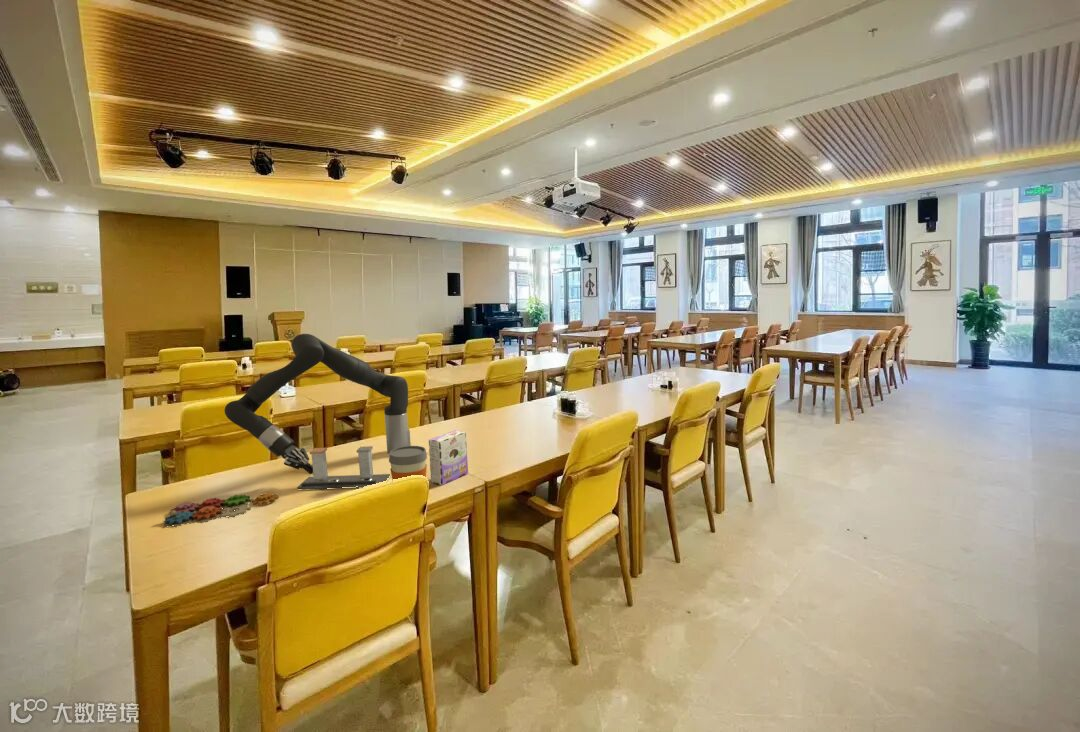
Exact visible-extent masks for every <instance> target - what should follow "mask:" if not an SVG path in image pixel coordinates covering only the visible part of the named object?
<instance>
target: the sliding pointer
mask: <svg viewBox="0 0 1080 732" xmlns="http://www.w3.org/2000/svg"><path fill="white" fill-rule="evenodd" d="M327 450H328V447H314V448H312V450H310V451H309V455H311V463H312V464H311V465H312V466H313V474H312V477H314V481H315V480H319V481H322V480H325V479H326V478H327V477H328V476H329V475H328V473H329V472H328V463H327Z"/></svg>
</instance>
